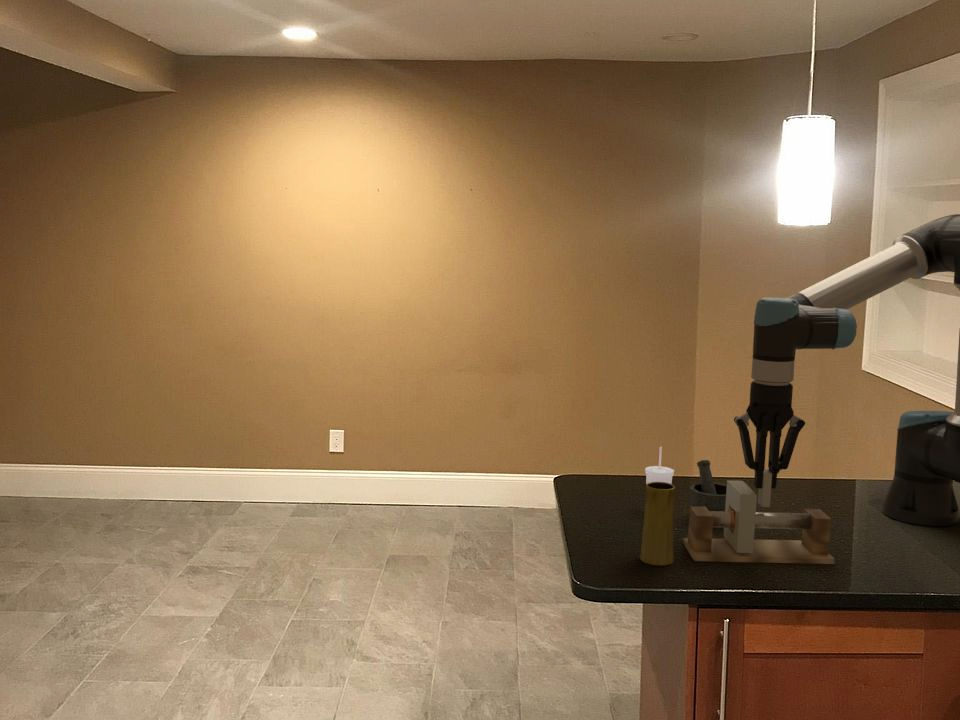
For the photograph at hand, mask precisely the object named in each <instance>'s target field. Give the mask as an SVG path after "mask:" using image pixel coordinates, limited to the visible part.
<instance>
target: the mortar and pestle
mask: <svg viewBox="0 0 960 720" xmlns="http://www.w3.org/2000/svg"><path fill="white" fill-rule="evenodd" d="M696 466H697V468H698V470H699V471H698V472H699V479H700V480H699V481H700V482H698V483H693V484H691V486H690V487H689V500H690V504H691V506H699V507H706V508H707V509H708V510H709V511H725V505H726V490H727V484H723V483H717V482H714V478H713V473H712V469H711V461H710V460H709V459H704V460H703V459H701V460H699V461H697V462H696Z"/></svg>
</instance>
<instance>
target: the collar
mask: <svg viewBox="0 0 960 720" xmlns="http://www.w3.org/2000/svg"><path fill="white" fill-rule="evenodd" d="M726 485H727V490H726V505H725V511H728V510H735V511H736V513H735V528H734V529H728V528H725V527H723V537H724V539H726V540H727V541H728V542H729V543H730V545H731V546H732V547H733V549H734V550H735V551H736V553H753V544H754V539H755V529H756V528H755V516H756V512H757V503H758V495H757V494H756V492H755V491H754V490H753V489H752V488H750V486H749V485H748V484H747V483H746V482H744V480H736V479H734V480H726Z"/></svg>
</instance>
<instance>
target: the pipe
mask: <svg viewBox="0 0 960 720" xmlns="http://www.w3.org/2000/svg"><path fill="white" fill-rule="evenodd" d="M709 512H710V513H711V514H712V515H713V528H724V527H725V528H728V529H734V528H735V513H736V511H735V510H728V511H709ZM811 526H812V518H811V515H810V514H809V513H804V512H767V511H765V512H763V511H762V512H761V511H756V516H755V529H780V530H781V529H782V530H785V529H786V530H803V529H811Z"/></svg>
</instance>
